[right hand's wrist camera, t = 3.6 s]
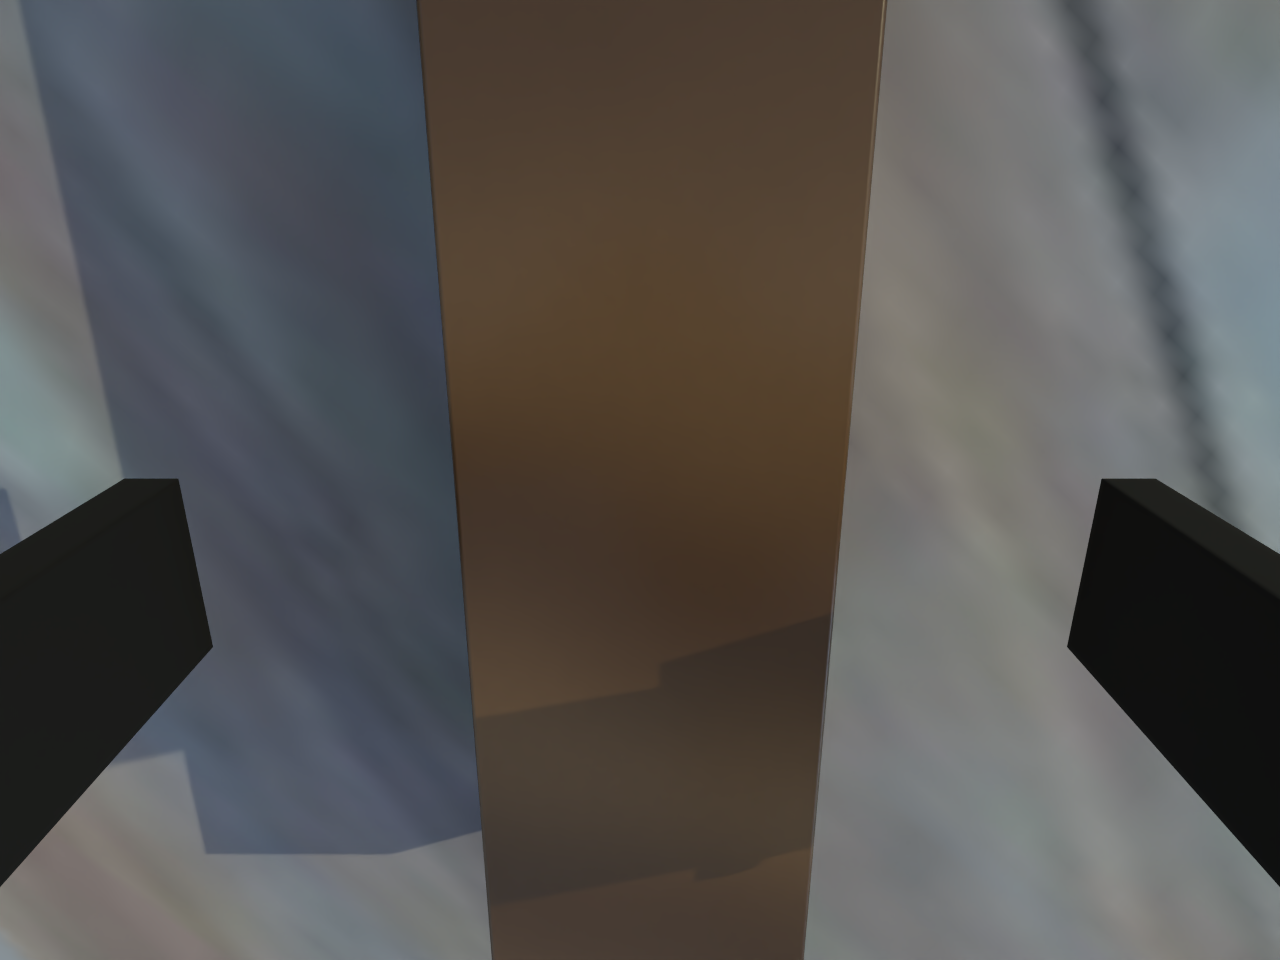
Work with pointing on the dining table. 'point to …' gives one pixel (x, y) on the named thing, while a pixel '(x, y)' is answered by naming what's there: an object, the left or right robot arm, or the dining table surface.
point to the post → (649, 447)
